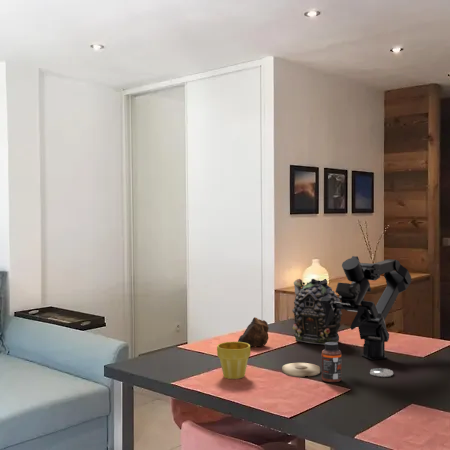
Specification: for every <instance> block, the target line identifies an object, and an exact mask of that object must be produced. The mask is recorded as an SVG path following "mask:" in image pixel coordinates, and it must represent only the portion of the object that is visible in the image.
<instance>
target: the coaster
mask: <svg viewBox="0 0 450 450" xmlns="http://www.w3.org/2000/svg"><path fill="white" fill-rule="evenodd" d="M281 368H282V369H281V370H282V371H281V372H282V373H283V374H285V375H287V376H291V377H300V378H301V377H303V378H306V377H305V376H308V377H315V376H317V375H319V374H321V367H320V366H319V365H316V364H314V363H307V362H292V363H286V364H284V365H282V367H281Z"/></svg>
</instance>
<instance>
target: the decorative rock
mask: <svg viewBox="0 0 450 450" xmlns="http://www.w3.org/2000/svg"><path fill="white" fill-rule="evenodd" d="M269 338H270V337H269V324H268V322H267V321H266V320H264V319H263V320H262V319H259V318H258V317H253V319H252V320H251V322H250V323H249V324H248V326H246V329H245V331H244V332H243V334H241V335H240V336H239V338H238V339H237V342H244V343H248V344H249V345H250V347H254V348H255V347H259V346H261V347H262V346H266V345H267V343H268V341H269Z"/></svg>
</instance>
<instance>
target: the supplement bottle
mask: <svg viewBox="0 0 450 450" xmlns="http://www.w3.org/2000/svg"><path fill="white" fill-rule="evenodd" d="M342 375H343V374H342V351H341V350H340V349H339V343H338V342H337V343H336V342H326V343H325V345H324V349H323V350H321V380H322V381H324V382H327V383H339V382H340V381H342V378H343V377H342Z"/></svg>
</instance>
